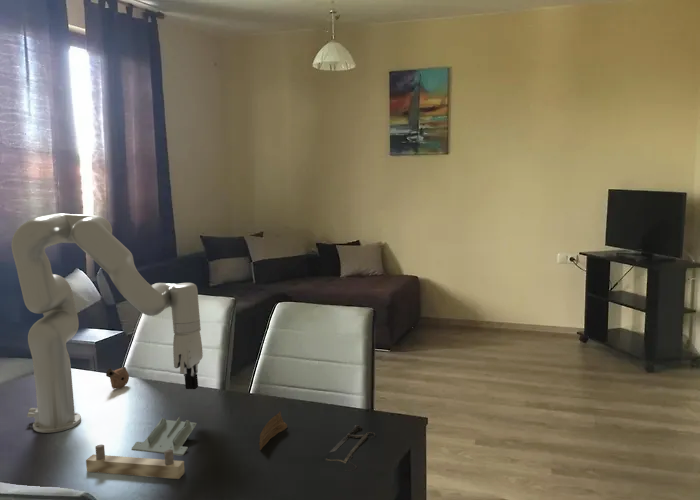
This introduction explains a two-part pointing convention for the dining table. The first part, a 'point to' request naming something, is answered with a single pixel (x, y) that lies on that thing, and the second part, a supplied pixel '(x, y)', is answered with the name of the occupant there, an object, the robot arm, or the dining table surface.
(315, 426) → the dining table surface
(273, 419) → the wood plank
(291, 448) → the dining table surface
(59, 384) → the robot arm
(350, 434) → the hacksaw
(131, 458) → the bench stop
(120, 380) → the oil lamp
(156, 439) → the metal bracket
